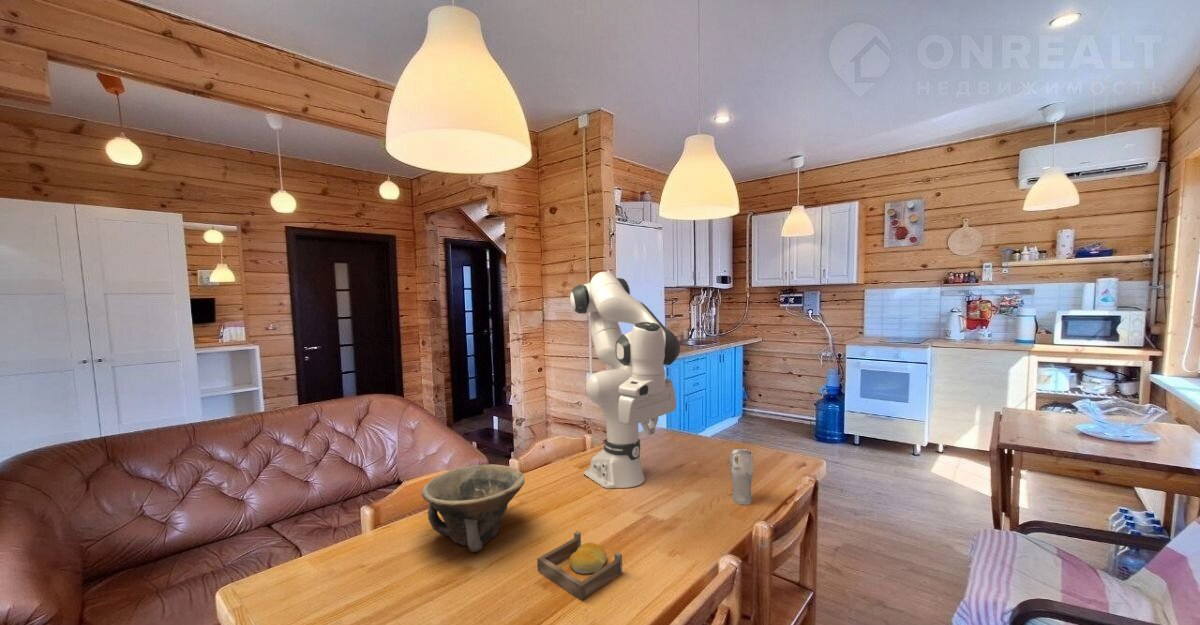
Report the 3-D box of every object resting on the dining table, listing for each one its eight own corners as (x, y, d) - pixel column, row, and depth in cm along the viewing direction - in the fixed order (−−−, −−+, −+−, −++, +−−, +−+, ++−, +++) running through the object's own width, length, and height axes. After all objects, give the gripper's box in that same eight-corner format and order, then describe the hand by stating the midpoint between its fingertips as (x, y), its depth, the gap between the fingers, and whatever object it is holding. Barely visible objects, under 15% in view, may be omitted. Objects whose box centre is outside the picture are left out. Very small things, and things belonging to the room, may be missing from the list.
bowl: (494, 501, 140) (492, 455, 139) (545, 531, 121) (543, 477, 121) (408, 535, 121) (406, 481, 121) (453, 576, 102) (450, 512, 102)
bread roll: (563, 570, 103) (562, 553, 103) (583, 550, 111) (582, 535, 111) (594, 580, 99) (593, 562, 99) (612, 559, 107) (611, 542, 107)
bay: (537, 570, 103) (536, 552, 103) (578, 547, 112) (577, 530, 112) (581, 600, 92) (580, 580, 92) (622, 572, 101) (621, 553, 101)
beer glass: (755, 506, 131) (754, 456, 131) (731, 504, 133) (730, 455, 132) (752, 496, 138) (751, 448, 138) (729, 494, 139) (728, 448, 139)
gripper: (663, 376, 127) (663, 423, 128) (613, 388, 113) (615, 441, 113) (681, 378, 122) (681, 427, 123) (632, 391, 108) (633, 447, 109)
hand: (649, 434), depth 118 cm, fingers closed
